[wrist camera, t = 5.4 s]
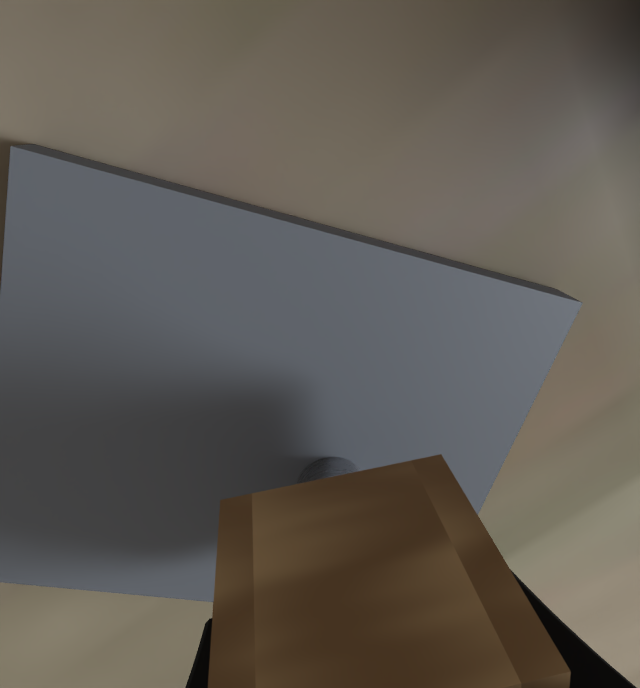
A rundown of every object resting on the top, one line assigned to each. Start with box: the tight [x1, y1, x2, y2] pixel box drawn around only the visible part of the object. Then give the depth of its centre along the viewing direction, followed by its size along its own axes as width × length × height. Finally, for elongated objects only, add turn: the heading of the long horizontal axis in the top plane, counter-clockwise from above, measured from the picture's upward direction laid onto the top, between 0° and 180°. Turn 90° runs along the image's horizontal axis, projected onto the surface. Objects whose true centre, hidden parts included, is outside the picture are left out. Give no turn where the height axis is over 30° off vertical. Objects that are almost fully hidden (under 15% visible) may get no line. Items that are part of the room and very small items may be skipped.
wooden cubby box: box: [208, 454, 571, 688], centre depth 10 cm, size 5×5×5 cm
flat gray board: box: [0, 144, 582, 602], centre depth 15 cm, size 14×12×1 cm
